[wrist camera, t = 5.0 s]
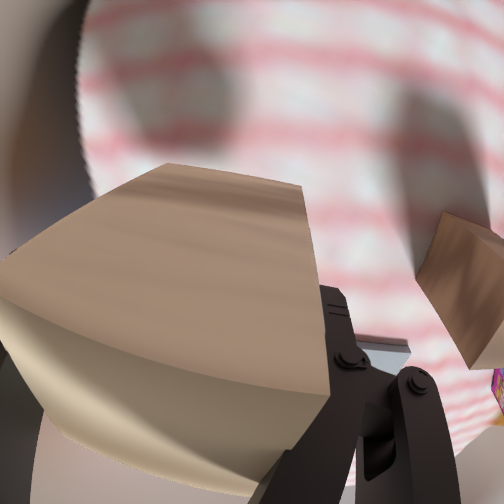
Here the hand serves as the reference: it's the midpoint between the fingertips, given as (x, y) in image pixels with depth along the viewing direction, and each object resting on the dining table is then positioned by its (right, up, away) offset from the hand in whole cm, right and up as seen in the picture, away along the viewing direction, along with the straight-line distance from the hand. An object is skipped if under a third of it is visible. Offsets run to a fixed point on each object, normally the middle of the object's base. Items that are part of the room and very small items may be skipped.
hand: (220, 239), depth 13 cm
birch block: (0, 0, 0) cm, 0 cm away
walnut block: (+18, -1, +6) cm, 19 cm away
